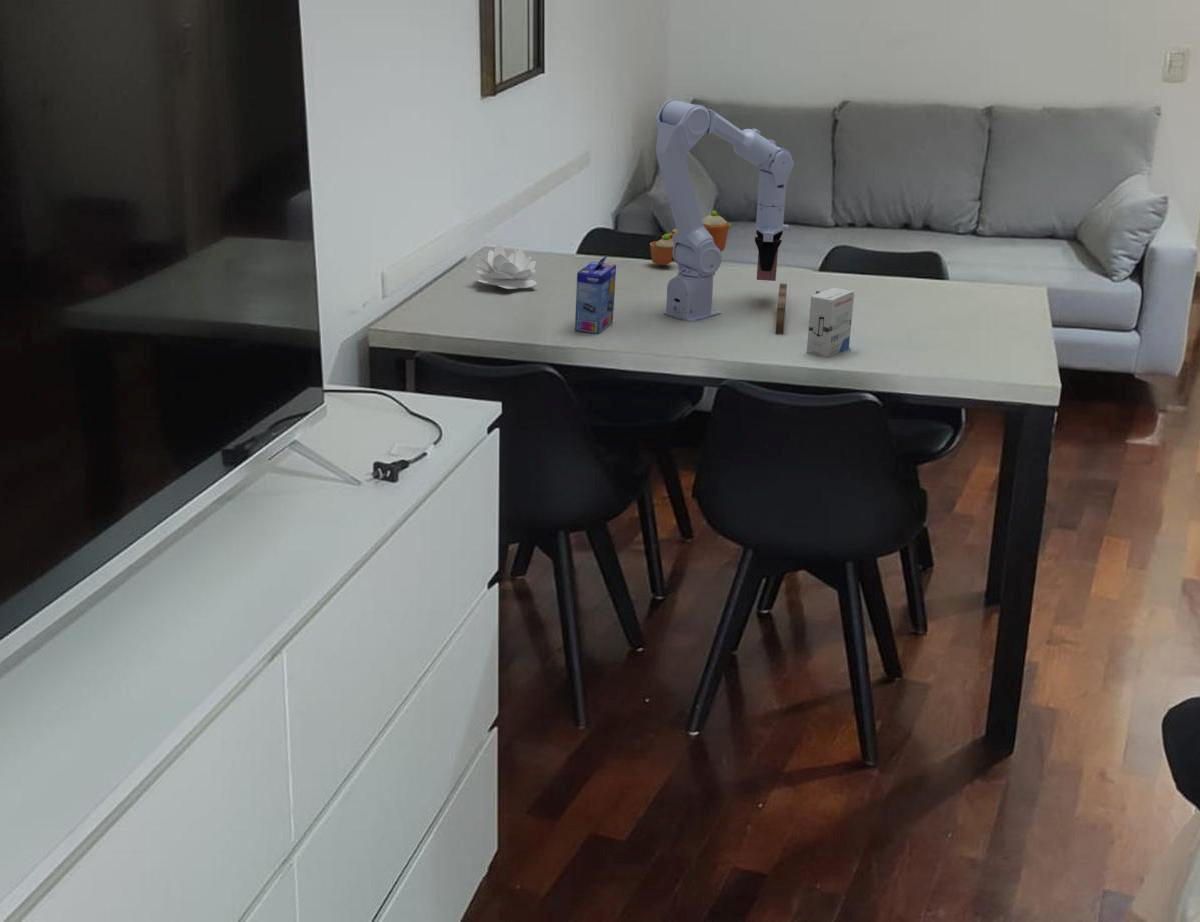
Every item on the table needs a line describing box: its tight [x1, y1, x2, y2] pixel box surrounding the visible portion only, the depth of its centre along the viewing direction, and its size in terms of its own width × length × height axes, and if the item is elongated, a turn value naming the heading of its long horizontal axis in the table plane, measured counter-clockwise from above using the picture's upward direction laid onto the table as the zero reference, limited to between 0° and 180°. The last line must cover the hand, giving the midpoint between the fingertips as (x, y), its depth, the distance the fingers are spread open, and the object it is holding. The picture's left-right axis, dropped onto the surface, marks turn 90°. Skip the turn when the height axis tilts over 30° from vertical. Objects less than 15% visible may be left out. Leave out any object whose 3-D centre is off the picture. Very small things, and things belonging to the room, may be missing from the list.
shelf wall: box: [775, 282, 788, 335], centre depth 297 cm, size 18×2×6 cm, turn 172°
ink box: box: [806, 287, 855, 358], centre depth 278 cm, size 9×5×12 cm, turn 141°
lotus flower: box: [474, 243, 538, 290], centre depth 319 cm, size 14×15×9 cm
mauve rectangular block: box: [756, 249, 779, 282], centre depth 309 cm, size 5×4×7 cm
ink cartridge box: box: [574, 254, 617, 335], centre depth 289 cm, size 10×6×14 cm, turn 162°
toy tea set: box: [649, 210, 732, 265], centre depth 346 cm, size 26×16×10 cm, turn 160°
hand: (766, 267), depth 309 cm, fingers closed on mauve rectangular block, 5 cm apart
